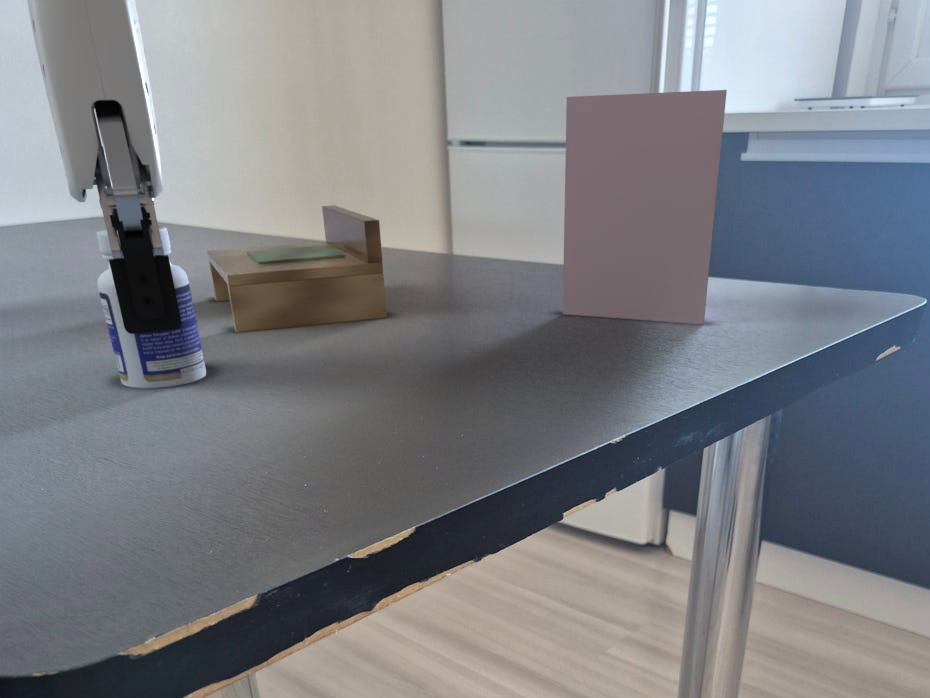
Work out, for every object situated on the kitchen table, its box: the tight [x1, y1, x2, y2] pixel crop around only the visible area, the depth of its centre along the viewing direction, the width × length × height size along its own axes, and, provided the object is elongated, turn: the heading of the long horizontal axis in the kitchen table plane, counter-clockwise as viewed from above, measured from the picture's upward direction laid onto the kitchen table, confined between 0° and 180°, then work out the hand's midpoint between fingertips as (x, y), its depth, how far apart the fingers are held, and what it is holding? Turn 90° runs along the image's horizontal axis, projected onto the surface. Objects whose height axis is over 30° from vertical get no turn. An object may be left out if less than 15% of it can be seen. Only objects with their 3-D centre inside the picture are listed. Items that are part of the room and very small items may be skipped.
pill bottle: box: [96, 225, 207, 389], centre depth 54 cm, size 5×5×9 cm
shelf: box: [206, 204, 388, 333], centre depth 74 cm, size 12×16×7 cm
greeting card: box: [562, 89, 728, 325], centre depth 64 cm, size 11×7×15 cm, turn 26°
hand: (151, 318), depth 54 cm, fingers closed on pill bottle, 5 cm apart
